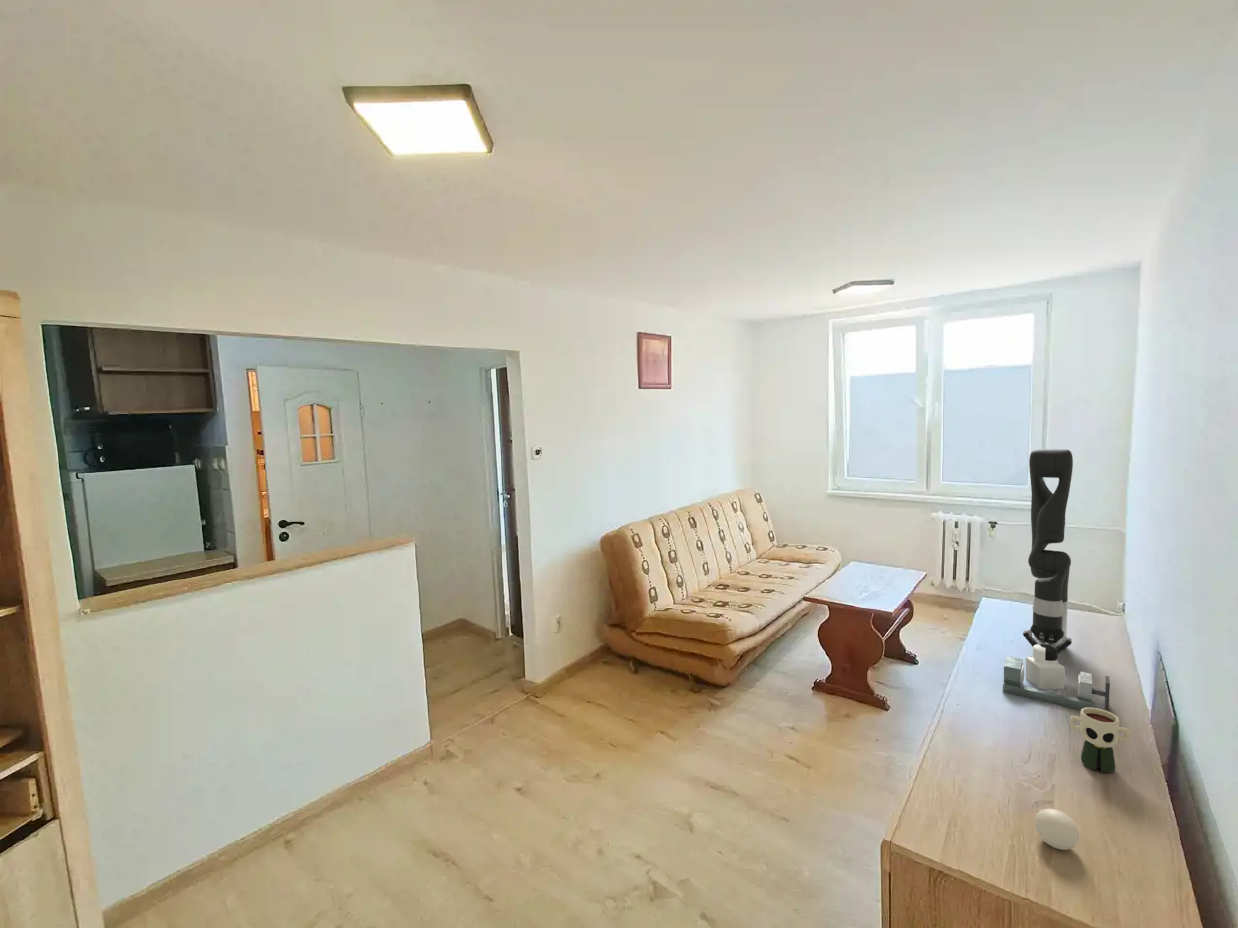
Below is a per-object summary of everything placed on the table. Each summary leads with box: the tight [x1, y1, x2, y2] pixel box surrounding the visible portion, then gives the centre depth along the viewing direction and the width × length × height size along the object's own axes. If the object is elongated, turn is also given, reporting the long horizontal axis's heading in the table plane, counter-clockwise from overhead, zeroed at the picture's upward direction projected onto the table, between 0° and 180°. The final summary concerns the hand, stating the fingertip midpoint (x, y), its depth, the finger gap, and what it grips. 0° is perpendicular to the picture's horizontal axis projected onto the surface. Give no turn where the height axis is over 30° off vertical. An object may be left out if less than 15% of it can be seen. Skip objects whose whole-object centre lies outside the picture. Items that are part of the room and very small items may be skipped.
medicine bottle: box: [1025, 644, 1066, 690], centre depth 172 cm, size 7×7×12 cm
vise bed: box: [1002, 656, 1097, 712], centre depth 166 cm, size 10×22×8 cm, turn 50°
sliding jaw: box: [1077, 671, 1111, 712], centre depth 160 cm, size 8×7×8 cm
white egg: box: [1034, 808, 1080, 851], centre depth 112 cm, size 7×7×7 cm
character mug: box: [1069, 707, 1131, 773], centre depth 133 cm, size 11×7×13 cm, turn 52°
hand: (1046, 663), depth 179 cm, fingers closed
